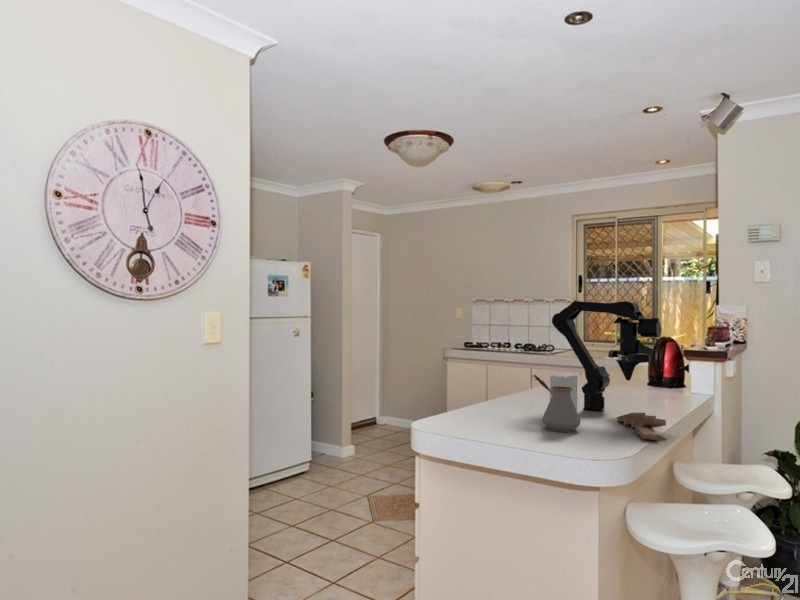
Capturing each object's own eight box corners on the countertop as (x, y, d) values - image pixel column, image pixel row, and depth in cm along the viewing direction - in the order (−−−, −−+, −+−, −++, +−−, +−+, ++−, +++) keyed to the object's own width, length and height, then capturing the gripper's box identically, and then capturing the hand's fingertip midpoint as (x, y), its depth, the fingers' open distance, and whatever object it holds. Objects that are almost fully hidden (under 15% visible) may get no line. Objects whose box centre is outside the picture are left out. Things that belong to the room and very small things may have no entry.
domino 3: (630, 422, 168) (653, 417, 159) (642, 424, 169) (665, 419, 160) (631, 427, 167) (654, 423, 158) (642, 429, 168) (666, 425, 159)
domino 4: (635, 425, 164) (642, 433, 154) (650, 426, 163) (658, 434, 153) (635, 430, 164) (642, 438, 154) (650, 431, 163) (657, 439, 153)
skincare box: (562, 414, 189) (563, 372, 189) (578, 417, 185) (578, 374, 185) (548, 417, 184) (548, 374, 184) (563, 421, 179) (564, 376, 179)
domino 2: (623, 419, 173) (643, 415, 164) (634, 420, 174) (655, 415, 165) (623, 424, 173) (644, 420, 164) (635, 425, 174) (656, 421, 165)
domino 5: (632, 429, 165) (652, 438, 155) (644, 429, 166) (665, 437, 156) (632, 434, 165) (652, 443, 155) (644, 434, 166) (665, 443, 156)
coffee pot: (588, 432, 164) (589, 382, 164) (556, 434, 160) (557, 384, 160) (547, 417, 184) (548, 373, 184) (518, 419, 181) (518, 375, 181)
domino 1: (616, 417, 179) (632, 412, 169) (628, 417, 179) (645, 412, 170) (617, 422, 178) (633, 417, 169) (629, 422, 179) (645, 417, 169)
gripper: (665, 338, 183) (664, 384, 183) (636, 334, 202) (636, 376, 202) (633, 338, 182) (633, 384, 182) (607, 334, 201) (607, 376, 201)
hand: (628, 380), depth 192 cm, fingers closed
